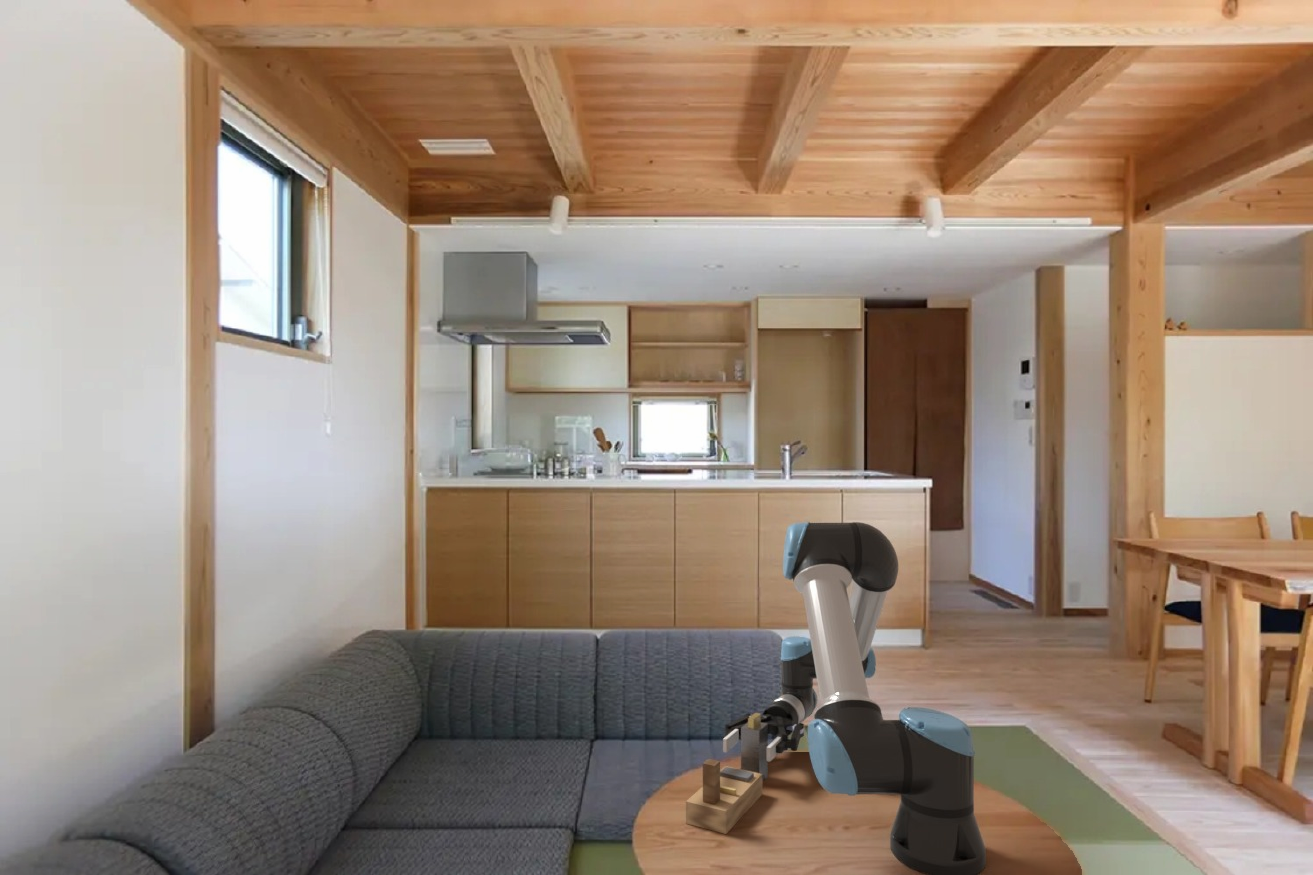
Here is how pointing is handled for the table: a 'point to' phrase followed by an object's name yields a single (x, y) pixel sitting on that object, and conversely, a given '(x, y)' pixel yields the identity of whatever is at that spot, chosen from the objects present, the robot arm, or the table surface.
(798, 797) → the table surface
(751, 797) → the body
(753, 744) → the grey metal pillar
